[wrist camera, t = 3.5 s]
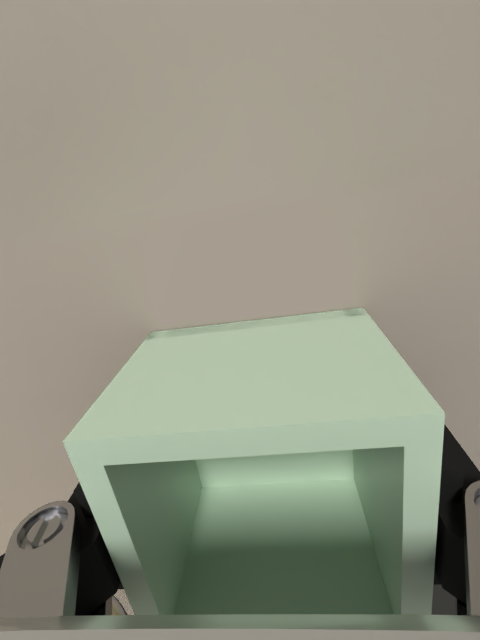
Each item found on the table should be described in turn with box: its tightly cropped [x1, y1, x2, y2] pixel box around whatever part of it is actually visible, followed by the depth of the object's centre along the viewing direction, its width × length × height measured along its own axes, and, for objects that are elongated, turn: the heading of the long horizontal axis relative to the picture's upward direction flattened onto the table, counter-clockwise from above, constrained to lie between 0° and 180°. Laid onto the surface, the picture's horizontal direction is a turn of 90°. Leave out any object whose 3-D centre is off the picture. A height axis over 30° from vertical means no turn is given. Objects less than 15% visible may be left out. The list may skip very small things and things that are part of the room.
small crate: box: [63, 308, 445, 615], centre depth 9 cm, size 6×6×5 cm
